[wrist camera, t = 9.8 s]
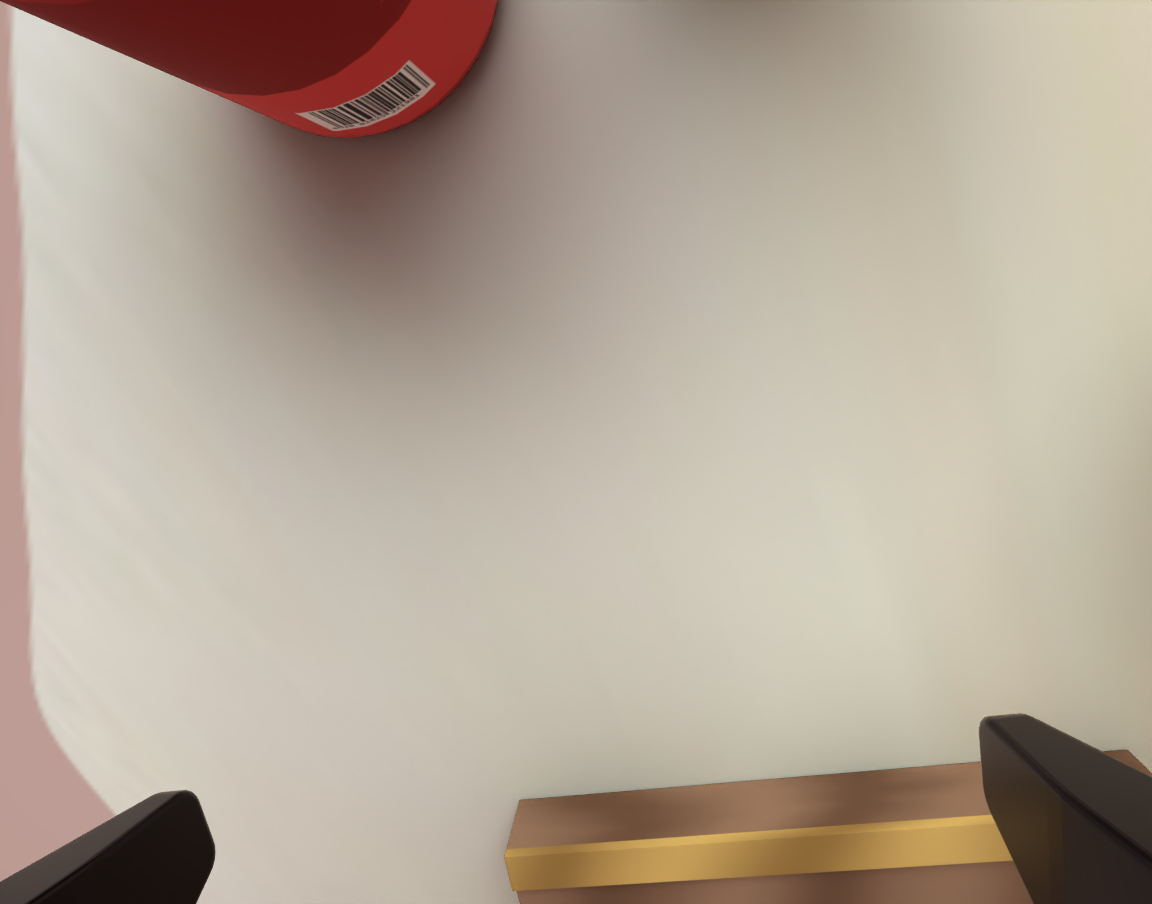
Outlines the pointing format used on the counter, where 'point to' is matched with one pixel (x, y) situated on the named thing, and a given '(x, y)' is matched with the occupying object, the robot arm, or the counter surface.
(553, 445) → the counter surface
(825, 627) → the counter surface
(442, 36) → the canned food
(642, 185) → the counter surface
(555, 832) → the dock
